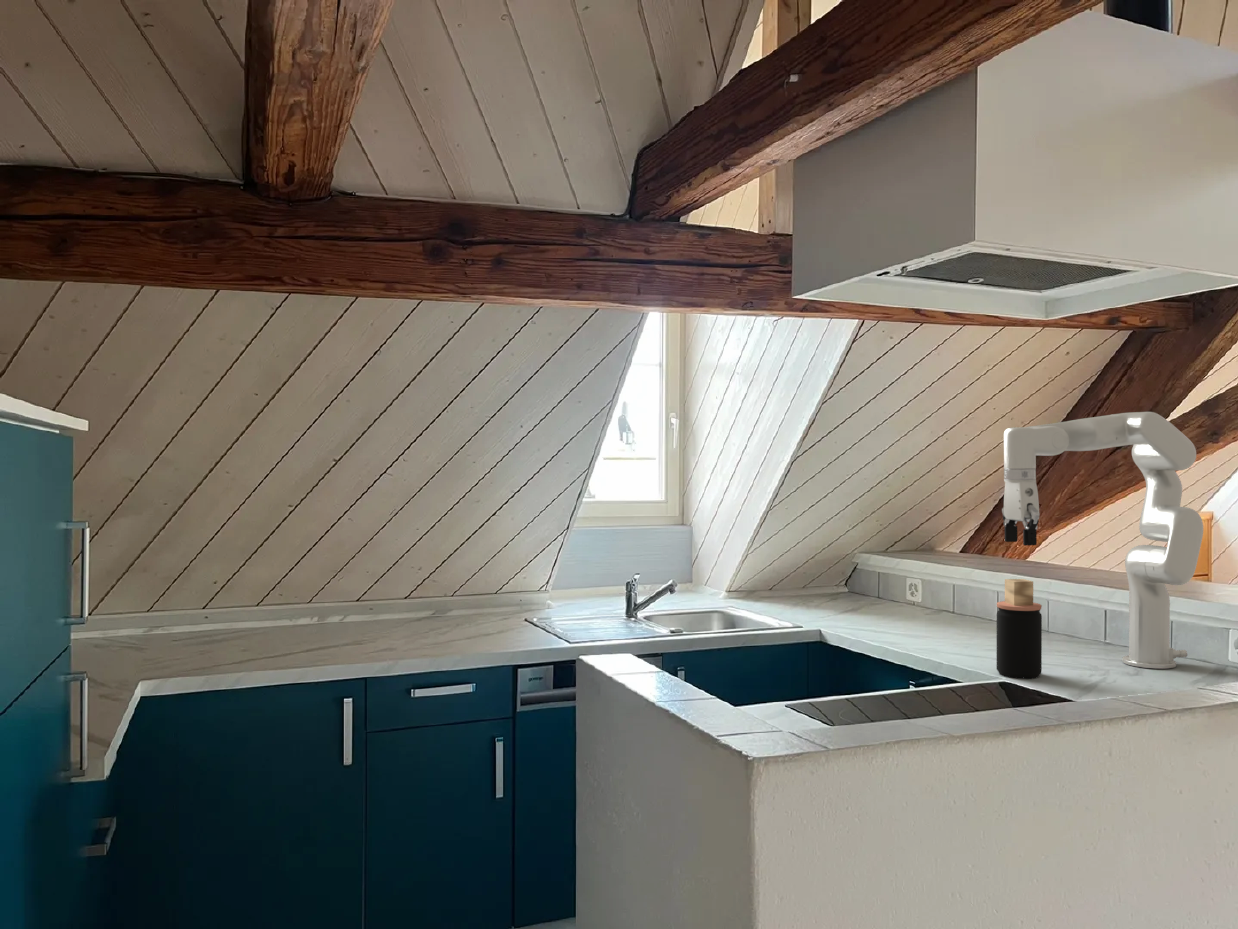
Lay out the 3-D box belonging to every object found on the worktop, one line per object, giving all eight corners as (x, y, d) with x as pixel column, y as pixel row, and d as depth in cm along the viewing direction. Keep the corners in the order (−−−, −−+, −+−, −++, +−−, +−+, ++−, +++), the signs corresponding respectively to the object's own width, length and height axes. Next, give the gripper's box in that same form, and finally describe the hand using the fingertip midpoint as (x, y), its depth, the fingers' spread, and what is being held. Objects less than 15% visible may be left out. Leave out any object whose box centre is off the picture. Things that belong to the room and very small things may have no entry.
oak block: (1023, 602, 256) (1023, 579, 255) (1033, 605, 251) (1033, 581, 250) (1004, 602, 255) (1004, 579, 255) (1014, 605, 250) (1014, 581, 250)
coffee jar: (1030, 669, 259) (1030, 600, 258) (1049, 679, 248) (1049, 607, 248) (989, 670, 258) (989, 601, 258) (1007, 679, 248) (1007, 607, 247)
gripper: (1051, 476, 244) (1052, 546, 244) (1017, 474, 261) (1017, 540, 262) (1022, 477, 243) (1022, 547, 244) (989, 475, 261) (990, 540, 261)
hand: (1020, 543), depth 253 cm, fingers open, 9 cm apart
